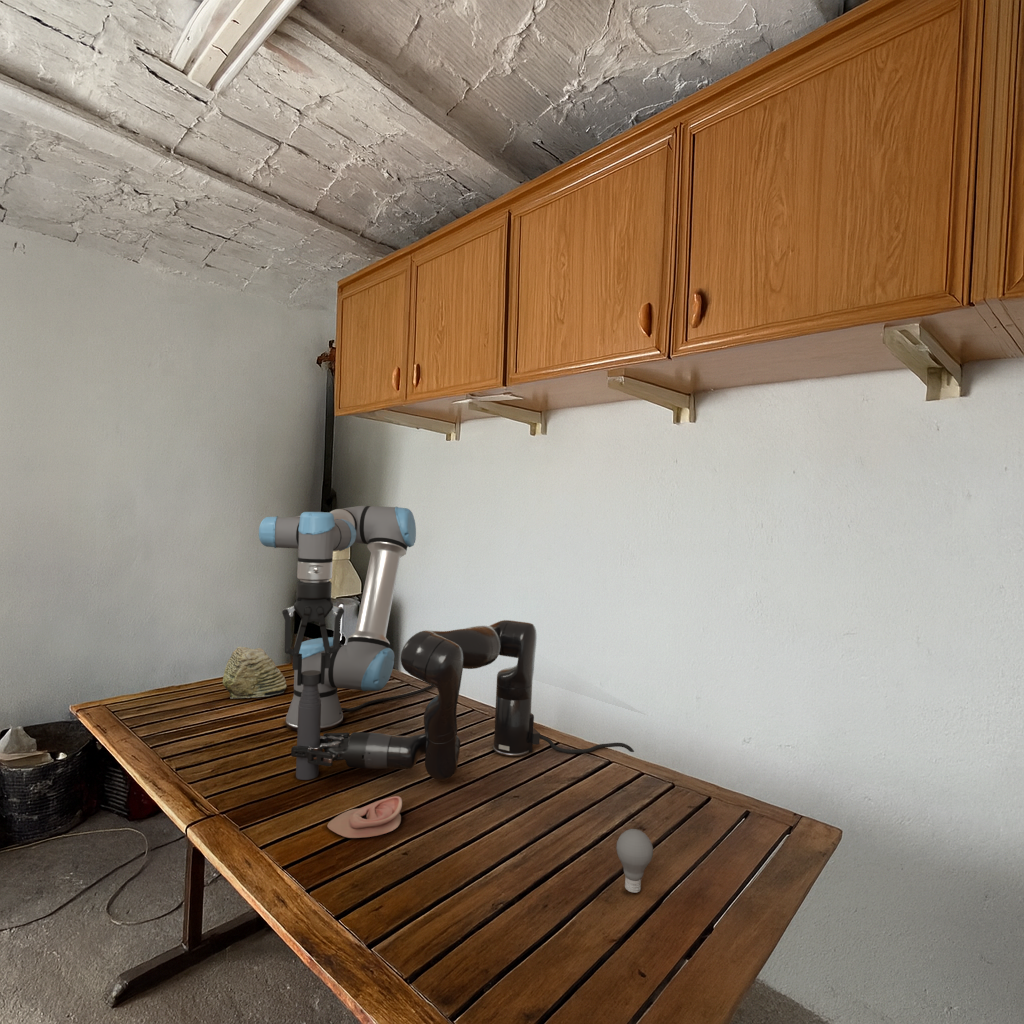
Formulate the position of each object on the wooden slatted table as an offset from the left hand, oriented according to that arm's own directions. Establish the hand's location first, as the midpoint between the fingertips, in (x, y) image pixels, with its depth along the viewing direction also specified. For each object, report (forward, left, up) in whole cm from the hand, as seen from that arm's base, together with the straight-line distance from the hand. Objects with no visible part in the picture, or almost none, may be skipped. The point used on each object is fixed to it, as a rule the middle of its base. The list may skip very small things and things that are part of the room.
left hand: (310, 682), depth 143 cm
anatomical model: (+5, +27, -21) cm, 34 cm away
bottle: (0, 0, -21) cm, 21 cm away
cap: (0, 0, +2) cm, 2 cm away
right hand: (+2, -2, -15) cm, 15 cm away
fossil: (-21, -61, -21) cm, 68 cm away
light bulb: (-12, +76, -21) cm, 80 cm away
